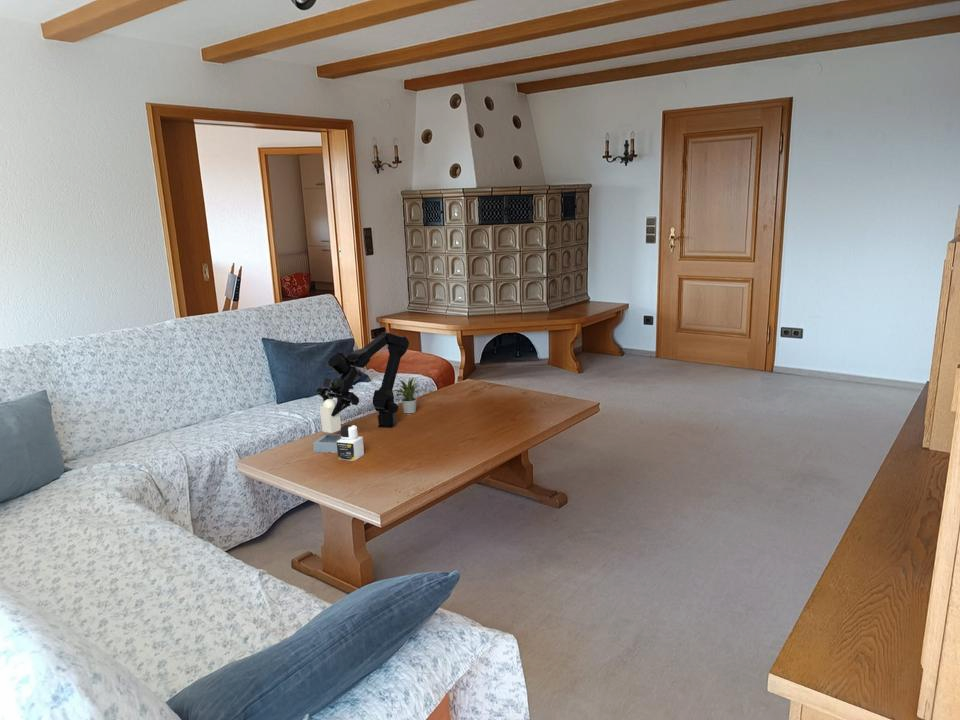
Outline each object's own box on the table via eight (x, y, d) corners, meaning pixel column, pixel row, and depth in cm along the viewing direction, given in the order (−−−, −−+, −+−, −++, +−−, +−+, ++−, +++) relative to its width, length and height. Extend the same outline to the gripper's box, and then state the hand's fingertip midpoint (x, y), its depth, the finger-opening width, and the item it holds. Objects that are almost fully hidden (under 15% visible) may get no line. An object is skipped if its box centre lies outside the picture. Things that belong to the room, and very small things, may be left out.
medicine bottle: (337, 459, 242) (334, 428, 240) (347, 453, 249) (345, 422, 246) (354, 461, 240) (352, 429, 237) (364, 454, 246) (362, 423, 244)
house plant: (398, 407, 307) (396, 373, 304) (427, 407, 305) (425, 372, 302) (390, 416, 293) (387, 380, 290) (420, 416, 291) (418, 380, 288)
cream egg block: (332, 427, 257) (329, 396, 255) (341, 429, 255) (338, 398, 252) (322, 431, 253) (319, 400, 251) (331, 433, 251) (328, 401, 248)
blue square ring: (352, 443, 259) (351, 434, 259) (340, 453, 249) (339, 444, 248) (326, 442, 262) (325, 433, 261) (313, 451, 252) (312, 443, 251)
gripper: (317, 367, 258) (297, 401, 251) (351, 371, 247) (331, 407, 240) (334, 382, 265) (315, 415, 259) (367, 387, 255) (349, 422, 248)
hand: (327, 415), depth 252 cm, fingers closed on cream egg block, 5 cm apart
